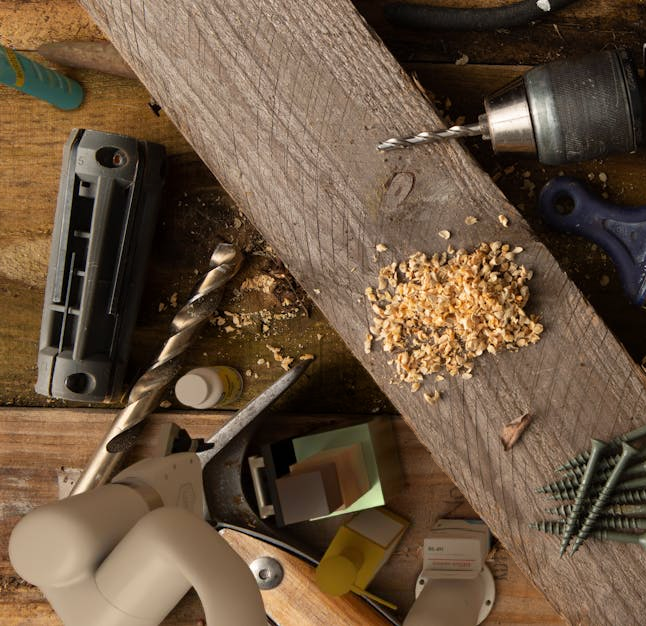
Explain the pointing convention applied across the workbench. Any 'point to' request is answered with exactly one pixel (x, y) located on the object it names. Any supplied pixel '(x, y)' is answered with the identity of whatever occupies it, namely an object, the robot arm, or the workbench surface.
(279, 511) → the oven door
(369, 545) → the soap bottle
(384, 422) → the oven
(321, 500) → the block
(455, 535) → the ink box
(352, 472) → the riser
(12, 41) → the workbench surface
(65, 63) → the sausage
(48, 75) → the tube
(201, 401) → the pill bottle
